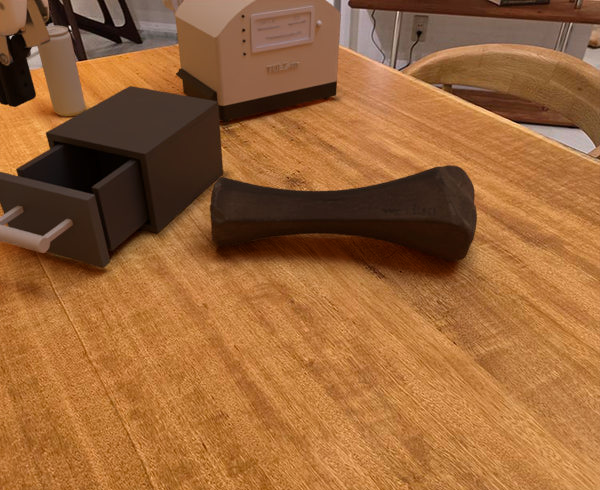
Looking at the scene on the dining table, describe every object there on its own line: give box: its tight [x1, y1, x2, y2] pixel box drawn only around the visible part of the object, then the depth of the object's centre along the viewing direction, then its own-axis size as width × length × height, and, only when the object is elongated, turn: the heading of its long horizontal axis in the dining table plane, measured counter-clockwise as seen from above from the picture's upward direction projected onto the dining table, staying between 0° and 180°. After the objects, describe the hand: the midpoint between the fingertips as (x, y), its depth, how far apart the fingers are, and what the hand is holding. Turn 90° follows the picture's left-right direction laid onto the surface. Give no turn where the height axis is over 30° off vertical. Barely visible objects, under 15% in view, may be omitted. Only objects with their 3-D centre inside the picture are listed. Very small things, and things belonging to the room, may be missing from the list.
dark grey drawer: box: [0, 142, 150, 269], centre depth 62 cm, size 19×11×8 cm, turn 158°
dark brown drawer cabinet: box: [45, 85, 224, 234], centre depth 70 cm, size 16×13×10 cm
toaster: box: [161, 0, 342, 124], centre depth 95 cm, size 23×25×17 cm
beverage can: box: [36, 25, 86, 117], centre depth 88 cm, size 5×5×12 cm
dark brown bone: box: [209, 164, 478, 262], centre depth 62 cm, size 11×10×28 cm
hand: (18, 100), depth 58 cm, fingers closed
